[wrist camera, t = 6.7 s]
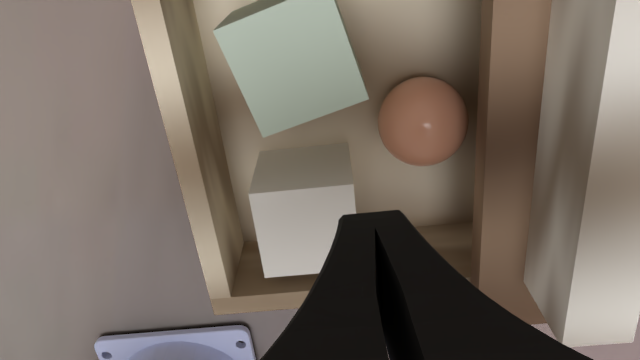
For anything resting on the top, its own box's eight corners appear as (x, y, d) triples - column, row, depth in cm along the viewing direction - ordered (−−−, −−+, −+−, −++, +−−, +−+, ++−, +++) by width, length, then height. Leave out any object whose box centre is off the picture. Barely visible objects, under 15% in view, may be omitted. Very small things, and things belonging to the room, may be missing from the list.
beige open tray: (580, 217, 23) (636, 279, 19) (232, 247, 23) (214, 315, 19) (631, -114, 17) (730, -126, 13) (163, -58, 17) (116, -52, 13)
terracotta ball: (455, 141, 20) (478, 177, 17) (375, 149, 20) (385, 186, 17) (457, 62, 19) (481, 87, 16) (371, 71, 19) (380, 97, 16)
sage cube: (360, 69, 19) (369, 99, 15) (272, 102, 19) (263, 137, 16) (326, -28, 17) (328, -17, 14) (231, 11, 18) (212, 31, 15)
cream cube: (354, 218, 22) (360, 269, 18) (272, 226, 22) (264, 278, 19) (348, 142, 20) (353, 184, 17) (259, 151, 20) (248, 194, 17)
